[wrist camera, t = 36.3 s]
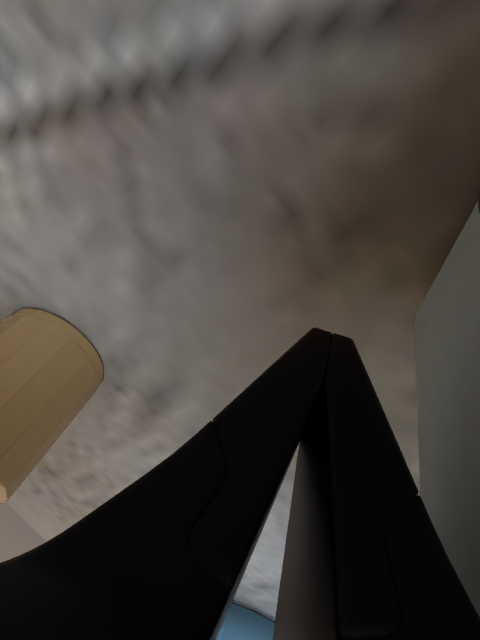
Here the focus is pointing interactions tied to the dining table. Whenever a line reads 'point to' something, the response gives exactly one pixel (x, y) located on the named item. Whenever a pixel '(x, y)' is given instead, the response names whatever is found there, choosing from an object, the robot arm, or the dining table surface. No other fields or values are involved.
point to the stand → (39, 388)
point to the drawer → (452, 404)
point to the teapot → (245, 625)
